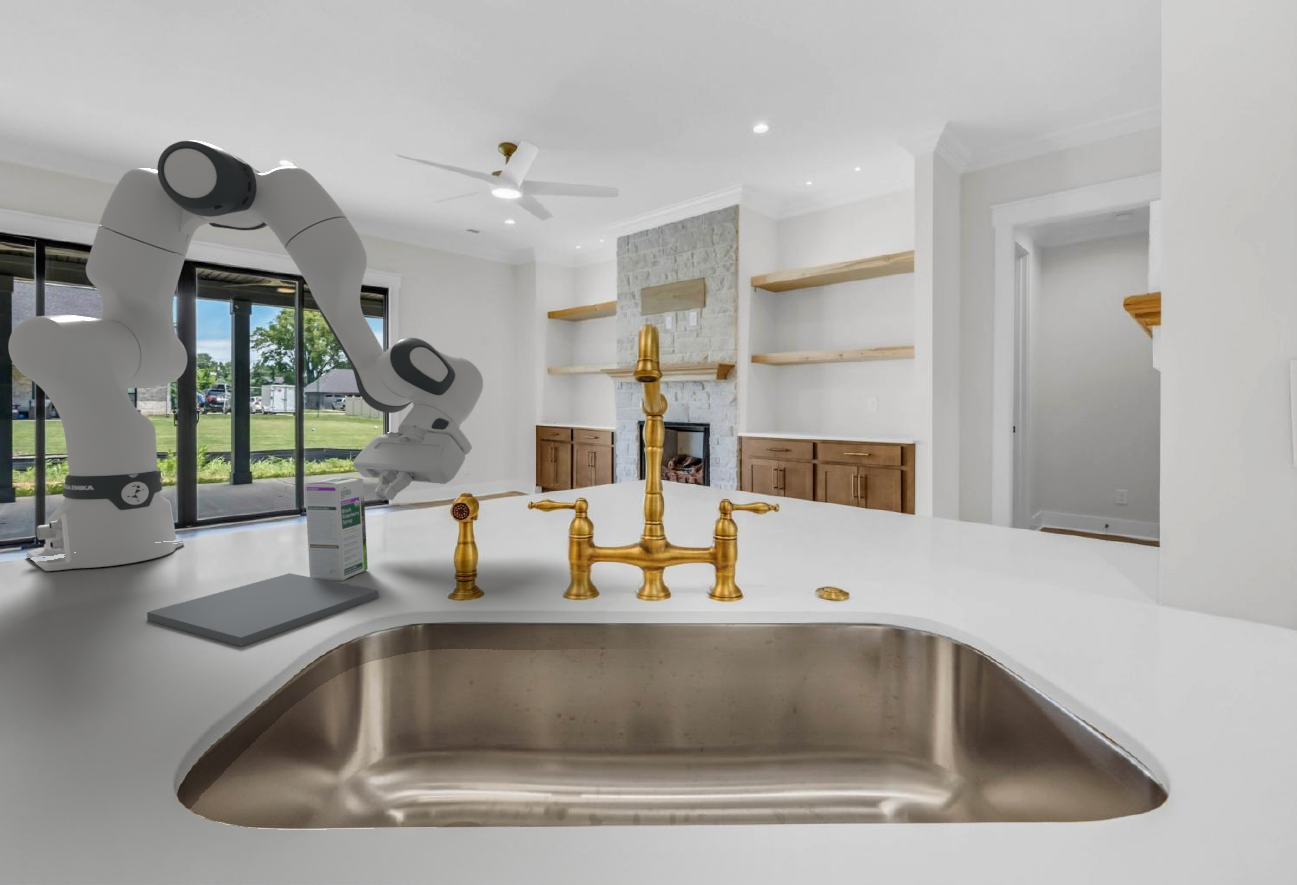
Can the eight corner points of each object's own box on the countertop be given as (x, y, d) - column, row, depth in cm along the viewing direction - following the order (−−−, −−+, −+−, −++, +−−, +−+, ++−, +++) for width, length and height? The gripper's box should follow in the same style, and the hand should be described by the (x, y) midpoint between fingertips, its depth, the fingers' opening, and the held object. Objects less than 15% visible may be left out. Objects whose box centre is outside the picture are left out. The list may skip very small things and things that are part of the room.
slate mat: (147, 620, 74) (146, 611, 74) (289, 579, 90) (289, 573, 90) (241, 646, 66) (240, 637, 66) (378, 597, 82) (378, 590, 82)
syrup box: (343, 581, 89) (339, 482, 88) (307, 578, 91) (304, 481, 90) (368, 570, 95) (365, 477, 94) (334, 568, 96) (331, 476, 95)
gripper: (372, 420, 110) (325, 481, 102) (461, 423, 101) (417, 489, 93) (393, 443, 114) (349, 503, 106) (480, 448, 106) (439, 513, 98)
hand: (382, 497), depth 100 cm, fingers closed
